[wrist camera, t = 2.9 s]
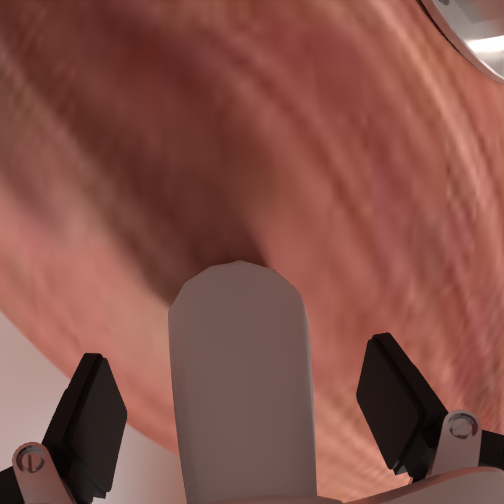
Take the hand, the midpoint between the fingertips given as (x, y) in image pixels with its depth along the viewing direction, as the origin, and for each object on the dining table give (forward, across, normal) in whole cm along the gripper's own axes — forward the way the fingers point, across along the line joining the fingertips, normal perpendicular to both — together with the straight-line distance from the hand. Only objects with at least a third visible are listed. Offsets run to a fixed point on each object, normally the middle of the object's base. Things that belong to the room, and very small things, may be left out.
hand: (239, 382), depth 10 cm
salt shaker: (+6, 0, 0) cm, 6 cm away
